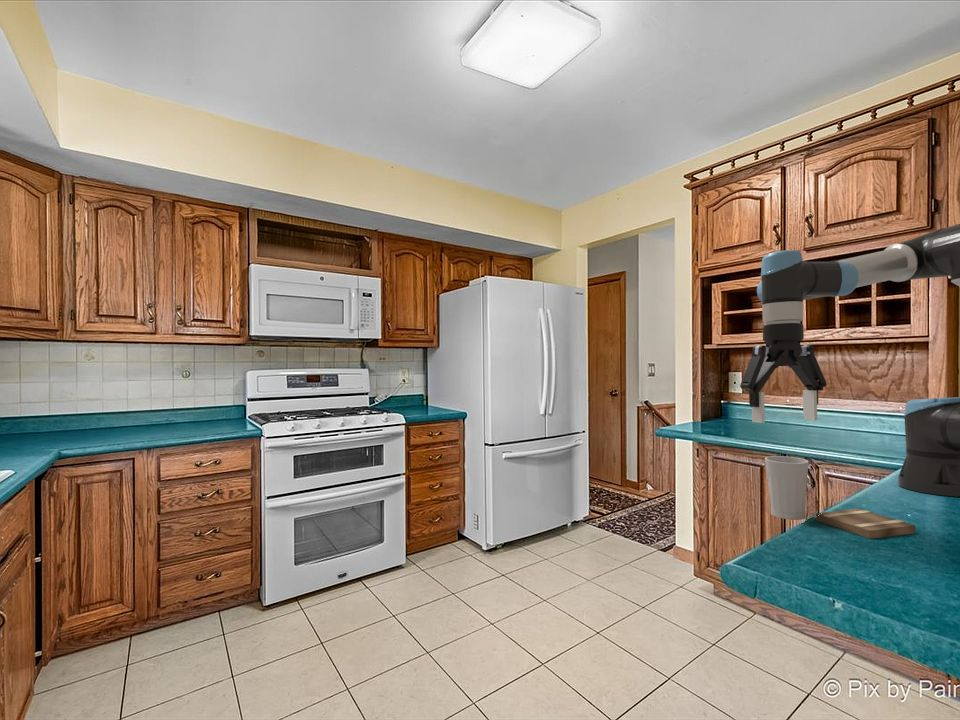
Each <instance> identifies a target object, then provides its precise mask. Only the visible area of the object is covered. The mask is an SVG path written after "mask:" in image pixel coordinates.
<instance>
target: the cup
mask: <svg viewBox="0 0 960 720" xmlns="http://www.w3.org/2000/svg"><path fill="white" fill-rule="evenodd" d="M764 461H765V469H766V476H767V484H768V495H769V503H770V514H771V516H774V517H776V518H779V519H784V520H791V521H792V520H793V521H799V520H800V521H801V520H804V519H806V517H807V516H806V501H807V500H806V499H807V485H808V484H807V482H808V474H809V460H807V459H804V458H801V457H794V456H785V455H784V456H782V455H779V456H778V455H774V456H767V457H765V458H764Z"/></svg>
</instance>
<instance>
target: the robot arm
mask: <svg viewBox="0 0 960 720" xmlns="http://www.w3.org/2000/svg"><path fill="white" fill-rule="evenodd" d="M760 270H761V271H760V278H761V280H760V282H759V283H758V285H757V287H756V294H757V298H758V299H759V301H760V302H761V303H762V304H761V305H762V307H761V308H762V309H761V310H762V312H761V314H762V323H764V324H765V325H763V326H762V341H763V342H765V345H764V344H763V345H753V346H752V348H751V350H752V351H751V357H750V360H749V362H748V364H747V367H746V370H745V372H744V375H743V377H742V379H741V382H740V385H739V387H740V389H743V390H745V392H748V395H749V396H748V402H749V403H748V405H749V407H751V422H752V423H758V424H765V423H766V420H765V419H766V417H765V416H766V415H765V413H766V412H765V410H766V409H765V392H763V391H762V390H763V388H764V386H765V385H766V384H767V382H768V380H769V379H770V377H771V376H772V374H773V373H774V372H775V370H776V369H777V368H779V367H788V368H791V370H792V372H794V374H795V375H796V377H797V379H799V380H800V382H801V383H802V385H803V386H804V387H805V389H803V390H802V403H803V404H802V405H803V406H802V408H803V409H802V412H803V420H805V421H813V422H815V421H818V405H819V391H823V390H824V388H826V387H827V385H828V384H827V381H826V379H825V376H824V374H823V372H822V370H821V367H820V365H819V362H818V360H817V357H816V354H815V349H814V348H815V347H814V346H813V345H811V344H810V345H809V344H808V345H807V344H806V345H801V341H803V340H804V339H805V338H804V337H805V336H804V335H805V334H804V331H805V330H804V324H803V323H801V322H802V321H804V301H807V300H813V299H818V298H823V297H832V298H836V297H842V296H847V295H850V294H851V293H853V291H854V290H855V289H856V288H860V287H864V286H869V285H873V284H879V283H882V282H887V281H891V282H896V283H900V282H906V281H910V280H921V279H930V278H932V279H933V278H942V277H950V282H951V283H952V284H954V285H956V286H958V287H959V288H960V223H958V224H954V225H951V226H948V227H944V228H940V229H935V230H933V231H930V232H927V233H924V234H921V235H919V236H916V237H915V238H911V239H908V240H906V241H902V242H897V243H894V244H891V245H889V246H887V247H886V248H885V249H884V250H881V251H876V252H871V253H867V254H862V255H858V256H853V257H848V258H844V259H840V260H834V261H806V260H804V258H803V253H802V252H801V251H800V250H795V249H786V250H785V249H784V250H778V251H773V252H770V253H768V254H765V255H764V256H763V257H762V259H761V269H760ZM761 391H762V392H761ZM904 410H905V411H904V414H903V415H904V416H903V417H904V430H905V432H904V433H905V452H906V453H905V458H904V460H903V461H904V462H903V464H902V466H901V468H900V471H899V474H898V478H897V480H898V486H900V487H901V488H904V489H907V490H910V491H914V492H919V493H924V494H930V495H937V496H947V497H957V498H959V497H960V397H959V396H958V397H937V398H932V397H931V398H918V399H916V398H915V399H911V400H908V401H907V402H906V403H905V407H904Z"/></svg>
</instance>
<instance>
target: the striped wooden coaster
mask: <svg viewBox="0 0 960 720" xmlns="http://www.w3.org/2000/svg"><path fill="white" fill-rule="evenodd" d="M821 513H822V514H821ZM819 514H820V515H819ZM818 515H819V516H818ZM816 516H817V517H816ZM815 520H816V521H817V522H819V523H822V522H824V523H823V524H825V523H826V524H825V525H828V524H829V526H831V525H833V526H832V527H834V526H836V527H835V528H837V527H838V528H837V529H840V528H841V529H840V530H843V531H847V532H849V533H851V534H854V535H858V536H861V537H864V538H867V539H870V540H871V539H878V538H887V537H893V536H894V537H895V536H901V535H910V534H916V525H915V524H913V523H909V522H906V520H902V519H896V518H891V517H889V516H885V515H882V514H877V513H874V512H873V511H870V510H867V509H865V510H864V509H862V508H861V509H860V508H852V509H842V510H832V511H825V512H824V511H823V512H817V513H816V512H815Z"/></svg>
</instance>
